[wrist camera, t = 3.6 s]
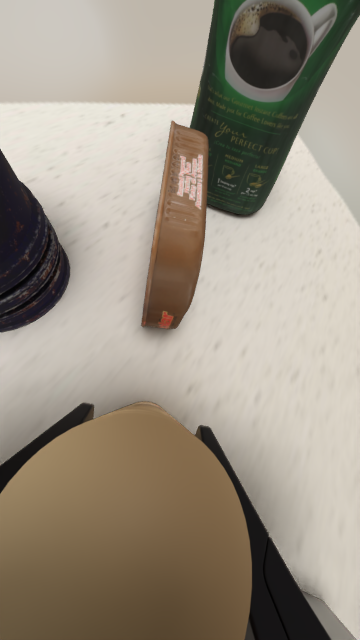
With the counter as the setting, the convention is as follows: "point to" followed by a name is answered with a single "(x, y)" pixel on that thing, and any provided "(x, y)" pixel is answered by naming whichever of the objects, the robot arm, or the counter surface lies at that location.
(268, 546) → the robot arm
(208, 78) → the coffee jar
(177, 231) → the tin
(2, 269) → the dark blue cylinder
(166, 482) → the dowel
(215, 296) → the counter surface
